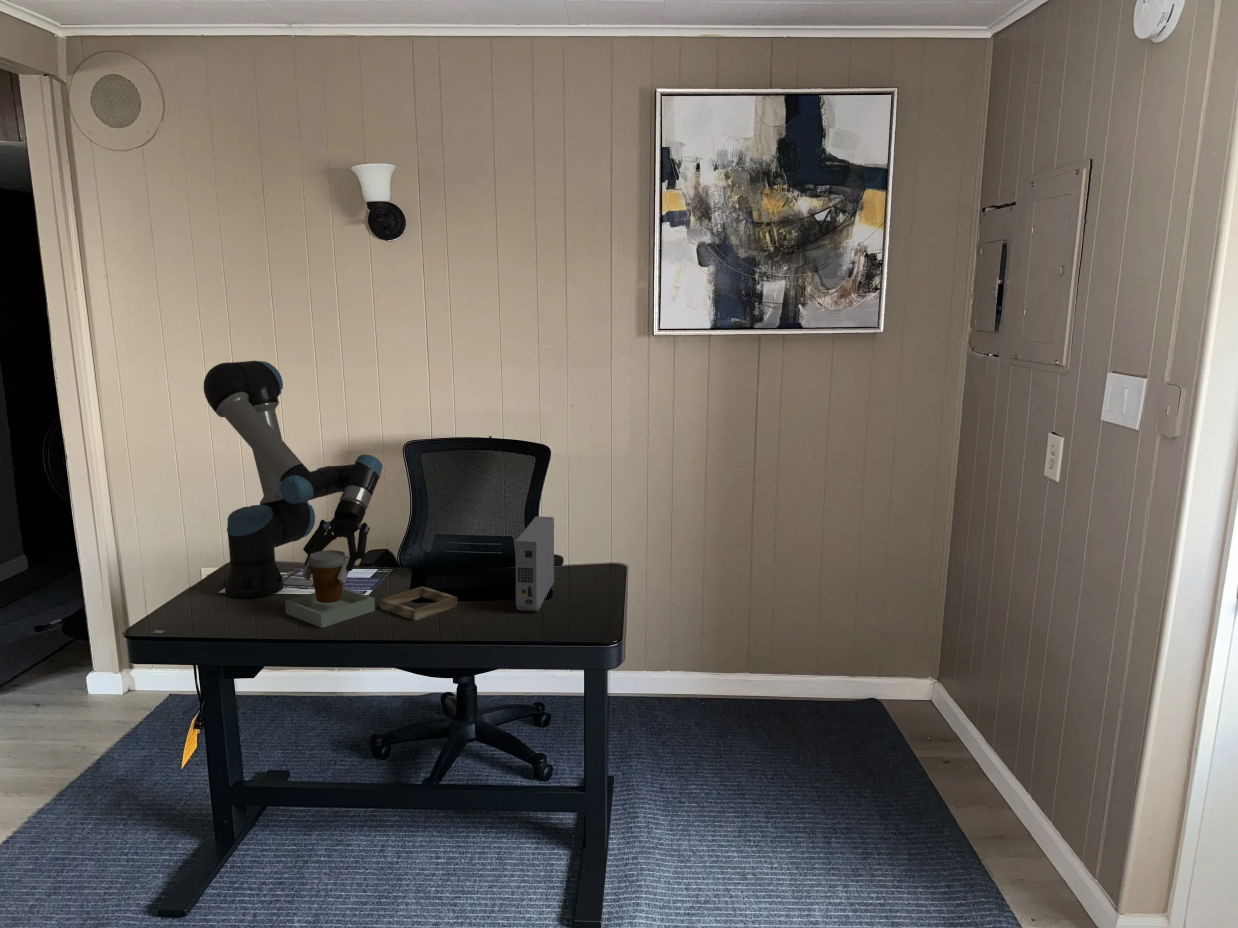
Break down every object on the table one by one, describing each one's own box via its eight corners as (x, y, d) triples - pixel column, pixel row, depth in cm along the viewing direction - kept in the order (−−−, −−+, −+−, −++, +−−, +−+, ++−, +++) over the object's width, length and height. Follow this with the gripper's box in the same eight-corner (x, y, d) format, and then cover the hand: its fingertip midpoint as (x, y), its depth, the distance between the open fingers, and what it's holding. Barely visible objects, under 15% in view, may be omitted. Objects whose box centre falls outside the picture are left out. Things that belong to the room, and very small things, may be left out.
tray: (286, 613, 218) (285, 600, 217) (339, 597, 230) (338, 585, 230) (321, 627, 208) (320, 614, 208) (374, 610, 221) (374, 597, 220)
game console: (555, 582, 246) (555, 516, 243) (537, 614, 219) (537, 541, 216) (536, 581, 247) (535, 516, 243) (516, 613, 220) (515, 541, 216)
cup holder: (380, 608, 222) (379, 599, 222) (422, 594, 234) (422, 586, 233) (415, 620, 214) (414, 611, 213) (457, 605, 225) (457, 596, 225)
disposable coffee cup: (333, 589, 225) (332, 547, 223) (355, 598, 219) (354, 554, 217) (302, 599, 217) (300, 555, 215) (324, 608, 212) (322, 563, 210)
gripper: (394, 515, 227) (367, 589, 215) (322, 511, 232) (291, 582, 220) (384, 501, 221) (355, 575, 209) (310, 496, 226) (278, 569, 214)
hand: (323, 579), depth 215 cm, fingers closed on disposable coffee cup, 9 cm apart
